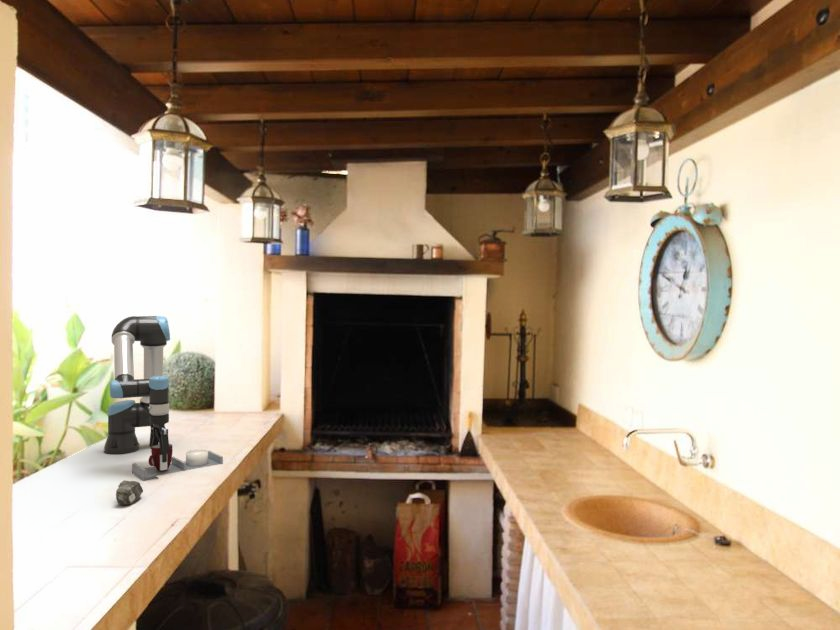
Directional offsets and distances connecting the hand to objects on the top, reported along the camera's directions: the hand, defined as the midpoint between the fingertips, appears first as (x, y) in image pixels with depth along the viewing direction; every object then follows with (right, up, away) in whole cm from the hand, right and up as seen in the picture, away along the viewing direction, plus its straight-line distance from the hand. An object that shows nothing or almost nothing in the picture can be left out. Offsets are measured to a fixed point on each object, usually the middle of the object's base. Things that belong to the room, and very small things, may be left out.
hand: (159, 467), depth 257 cm
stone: (+4, -4, -35) cm, 35 cm away
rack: (+6, -2, +5) cm, 8 cm away
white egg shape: (+12, -1, +11) cm, 16 cm away
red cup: (+1, -1, -1) cm, 2 cm away
